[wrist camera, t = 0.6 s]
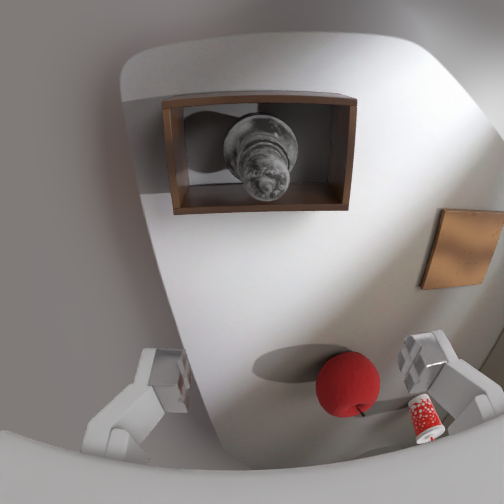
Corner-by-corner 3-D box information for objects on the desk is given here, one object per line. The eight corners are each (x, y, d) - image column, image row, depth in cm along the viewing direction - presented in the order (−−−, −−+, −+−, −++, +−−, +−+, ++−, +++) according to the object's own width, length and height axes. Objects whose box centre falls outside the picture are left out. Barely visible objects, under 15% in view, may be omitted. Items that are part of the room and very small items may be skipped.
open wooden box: (175, 95, 25) (161, 101, 20) (338, 93, 25) (357, 99, 21) (183, 192, 30) (173, 215, 25) (333, 188, 30) (348, 210, 25)
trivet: (442, 208, 31) (445, 210, 30) (504, 211, 31) (506, 213, 30) (420, 287, 37) (422, 290, 36) (479, 281, 37) (481, 283, 36)
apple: (318, 342, 41) (332, 405, 33) (379, 339, 42) (400, 396, 33) (307, 381, 46) (316, 437, 38) (361, 377, 46) (376, 430, 38)
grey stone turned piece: (243, 182, 29) (243, 252, 19) (213, 127, 26) (193, 166, 16) (302, 156, 28) (336, 213, 18) (275, 98, 25) (297, 118, 15)
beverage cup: (400, 403, 53) (419, 462, 41) (427, 388, 51) (450, 447, 39) (409, 411, 55) (426, 466, 43) (434, 397, 53) (454, 452, 41)
